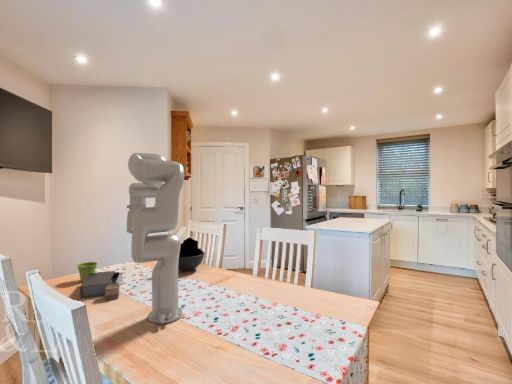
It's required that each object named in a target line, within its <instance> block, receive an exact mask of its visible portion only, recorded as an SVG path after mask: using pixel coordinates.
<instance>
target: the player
mask: <svg viewBox="0 0 512 384" xmlns="http://www.w3.org/2000/svg"><path fill="white" fill-rule="evenodd" d="M119 274H122V275H123V272H120V271H117V272H116V270H111V271H99V272H95V273H90V274H89V275H88V277H87V278H86V279H85V281H84V282H82V283H80V285H79V299H85V298H93V297H95V298H96V297H102V296H104V297H105V288H106V286H107V285H115V284H118V283H114V284H110V282H111V280H112V279H115V278H118V276H119Z"/></svg>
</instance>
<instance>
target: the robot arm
mask: <svg viewBox="0 0 512 384" xmlns="http://www.w3.org/2000/svg"><path fill="white" fill-rule="evenodd" d="M127 162H128V163H127V165H128V171H129V173H130V174H131V176H132V177H133V178H134V179H135V180H136V182H133V183H132V182H131V184H130V185H129V186H128V195H129V205H126V209H129V210H128V211H127V213H126V214H127V216H126V233H128V234H131V242H130V243H131V245H130V246H131V249H130V251H131V258H132V261H133V262H134V263H137V264H144V263H152V262H156V263H155V265H154V267H153V269H152V272H151V296H152V297H151V298H152V299H151V301H152V302H151V304H152V305H151V309H152V310H151V311H150V312H149V313H148V315H147V320H148V321H149V322H150V323H153V324H158V325H159V324H161V325H162V324H170V323H172V322H175V321H177V320H178V319H180V318H182V316H183V310H182V308H180V307H179V269H178V261H179V253H180V247H181V243H182V242H181V239H180V238H179V236H177V235H175V234H173V233H169V232H172V231H174V230H176V228H177V226H178V222H179V211H180V210H179V208H180V207H179V205H180V195H181V191H182V188H183V185H184V182H185V169H184V166H183V165H182V164H181V163H180V162H179V161H175V160H168V159H166V158H165V157H164V156H163V155H161V154H158V153H147V152H134V153H132V154H131V155H130V156H129V158H128V161H127ZM137 181H138V182H137ZM154 198H155V199H154ZM147 199H154V206H149V207H147ZM166 232H167V233H166ZM156 233H160V234H156ZM161 233H163V234H161ZM164 233H165V234H164ZM149 234H154V235H149Z"/></svg>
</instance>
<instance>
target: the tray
mask: <svg viewBox="0 0 512 384" xmlns="http://www.w3.org/2000/svg"><path fill="white" fill-rule="evenodd" d="M122 282H123V273H122V274H119V276H118V278H115V279H112V284H114V283H118V284H119V288H120V287H121V285H122Z"/></svg>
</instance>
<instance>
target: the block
mask: <svg viewBox="0 0 512 384" xmlns="http://www.w3.org/2000/svg"><path fill="white" fill-rule="evenodd" d="M119 296H120V287H119V284H115V285H107V286H106V288H105V295H104V299H105V300H104V301H112V300H119Z"/></svg>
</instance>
